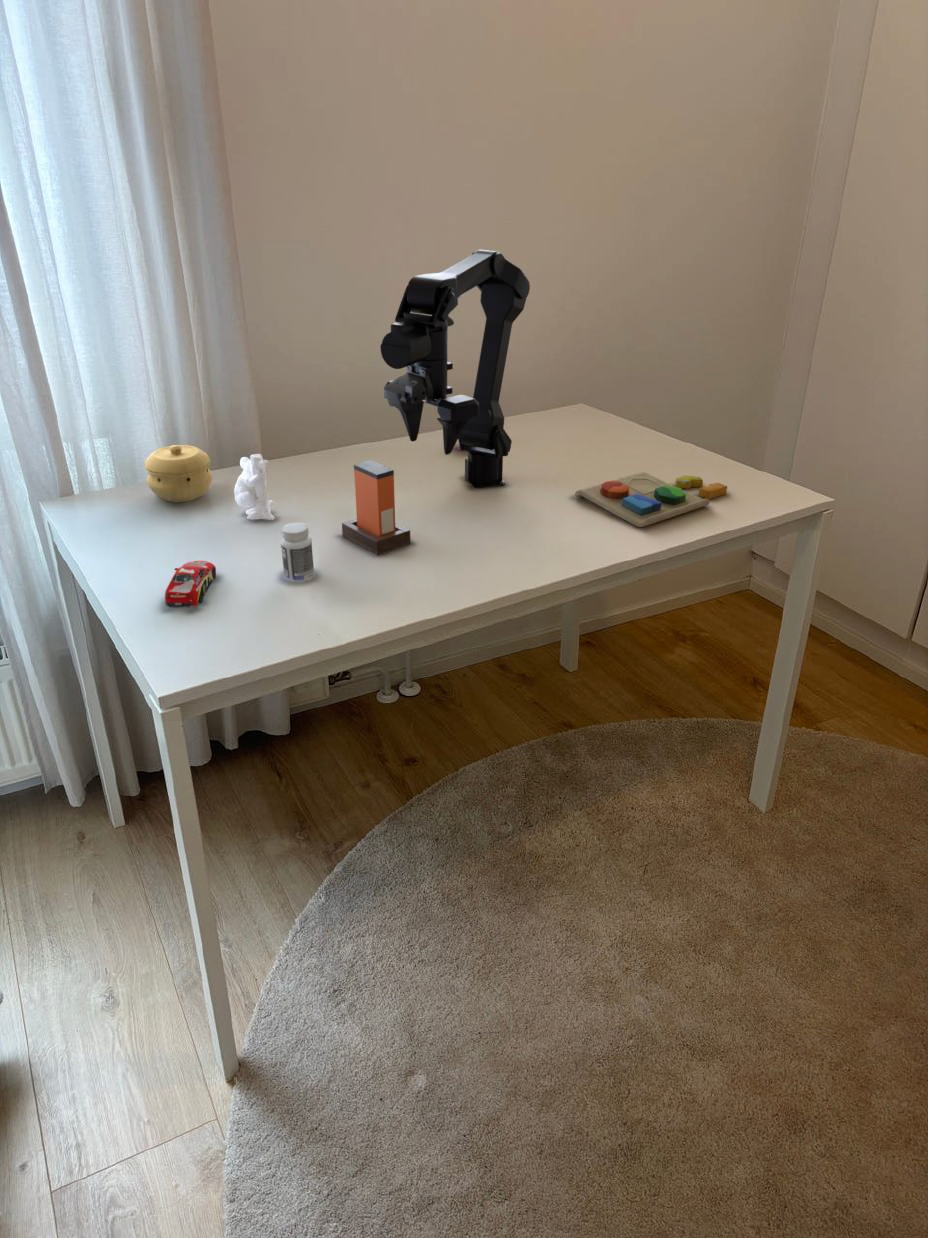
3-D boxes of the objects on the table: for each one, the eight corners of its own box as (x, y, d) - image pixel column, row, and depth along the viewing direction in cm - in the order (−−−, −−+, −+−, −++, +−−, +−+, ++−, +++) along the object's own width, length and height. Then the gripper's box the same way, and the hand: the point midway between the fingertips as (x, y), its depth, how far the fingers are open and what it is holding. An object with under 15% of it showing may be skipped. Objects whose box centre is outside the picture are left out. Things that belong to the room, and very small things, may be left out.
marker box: (373, 528, 166) (370, 459, 160) (396, 540, 161) (394, 470, 155) (357, 534, 164) (353, 464, 158) (380, 546, 160) (377, 475, 153)
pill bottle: (319, 572, 152) (315, 523, 148) (305, 585, 148) (301, 535, 144) (292, 568, 153) (288, 519, 149) (278, 580, 149) (273, 531, 145)
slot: (375, 525, 168) (374, 512, 167) (410, 543, 162) (410, 530, 160) (342, 536, 164) (341, 522, 163) (377, 555, 158) (376, 541, 156)
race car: (187, 572, 152) (183, 549, 150) (221, 572, 152) (217, 549, 150) (160, 611, 140) (156, 587, 139) (196, 612, 140) (193, 588, 138)
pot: (202, 481, 187) (195, 431, 182) (224, 500, 178) (217, 448, 173) (141, 493, 181) (133, 442, 176) (161, 513, 172) (153, 460, 167)
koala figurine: (286, 519, 170) (280, 454, 164) (251, 528, 167) (244, 462, 161) (265, 504, 176) (259, 441, 170) (231, 512, 173) (223, 449, 167)
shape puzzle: (645, 531, 166) (647, 513, 165) (571, 498, 180) (572, 481, 178) (740, 498, 180) (742, 481, 178) (664, 470, 193) (666, 454, 191)
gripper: (357, 353, 160) (360, 443, 168) (429, 375, 148) (429, 471, 156) (409, 344, 167) (410, 431, 174) (482, 364, 155) (479, 457, 162)
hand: (430, 447), depth 166 cm, fingers open, 9 cm apart
